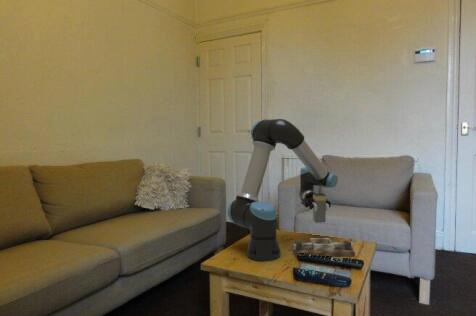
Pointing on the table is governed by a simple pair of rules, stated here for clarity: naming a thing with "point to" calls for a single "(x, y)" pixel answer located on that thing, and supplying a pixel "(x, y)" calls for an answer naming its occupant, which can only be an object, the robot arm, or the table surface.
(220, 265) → the table surface
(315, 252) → the shaft board
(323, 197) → the coupler
